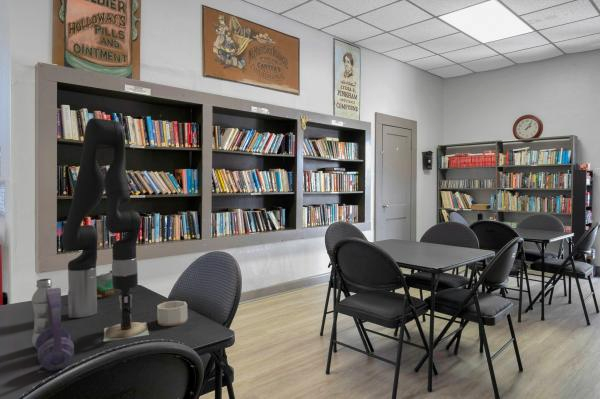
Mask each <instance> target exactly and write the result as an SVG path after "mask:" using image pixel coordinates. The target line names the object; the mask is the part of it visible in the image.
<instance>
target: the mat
mask: <svg viewBox="0 0 600 399" xmlns="http://www.w3.org/2000/svg"><path fill="white" fill-rule="evenodd" d="M143 323H144V324H145V325H146V330H145V331H144V332H143V333H141V334H139V335H136V336H132V337H127V338H110V337H107V336H106V330H107V329H108V328H109V327H104V328H103V330H104V331H103V342H104V343H105V342H112V341H113V342H114V341H118V340H124V339H132V338H138V337H144V336H149V335H150V333H149V330H148V329H149V328H148V324H147V322H143Z"/></svg>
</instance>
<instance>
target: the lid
mask: <svg viewBox="0 0 600 399" xmlns="http://www.w3.org/2000/svg"><path fill="white" fill-rule="evenodd" d="M144 323H145V322H138V321H132V313H131V314H130V326H129V327H123V321H122V315H121V314H120V323H117V324H114V325H111V326H110V327H109V326H108V327H107V328H108V329H107V330H106V336H107V337H110V338H126V339H128V338H127V337H132V336H136V335H139V334H141V333H143V332H144V331H145V330H146V325H145V324H144ZM132 338H133V337H132Z"/></svg>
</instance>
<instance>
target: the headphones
mask: <svg viewBox="0 0 600 399" xmlns="http://www.w3.org/2000/svg"><path fill="white" fill-rule="evenodd" d="M46 296H47V305H48V329H46V330H44V331H43V332H42V333H41V334H40V335H39V336H38V338H37V340H36V348H35V349H36V351H37V354H36V356H37V359H38V362H39V364H40V365H41V366H42V367H43V368H44V369H45V370H48V371H59V370H61V369H63V368H65V367H67V366H68V365H69V364H70V362H71V361H72V357H73V356H74V353H75V344H74V342H73V341H72V340H71V336H70V333H69V331H68V330H66V329H65V328H63V327H61V326H62V325H61V324H62V323H61V322H62V289H61V288H60V287H55V288H52V289H46Z"/></svg>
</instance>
